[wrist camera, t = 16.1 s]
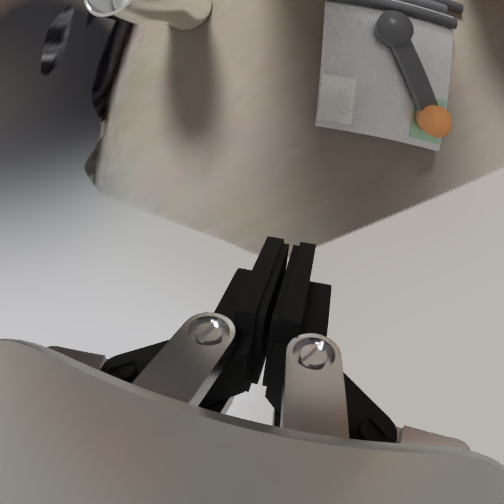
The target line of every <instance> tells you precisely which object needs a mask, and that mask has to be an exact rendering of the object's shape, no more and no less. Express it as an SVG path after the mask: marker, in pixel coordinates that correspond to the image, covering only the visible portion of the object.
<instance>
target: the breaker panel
mask: <svg viewBox="0 0 504 504" xmlns="http://www.w3.org/2000/svg"><path fill="white" fill-rule="evenodd" d="M392 1H396V2H400V3H404V4H408V5H412V6H416V7H419V8H423V9H426V10H430V11H433V12H436V13H439V14H442V15H445V16H448V17H451V18H454V17H452V16H449V15H446V14H443V13H440V12H437V11H434V10H431V9H427V8H424V7H421V6H417V5H413V4H410V3H406V2H402V1H398V0H392ZM386 11H389V10H387V9H382V8H377V7H372V6H367V5H361V4H355V3H349V2H341V1H334V0H325V11H324V28H323V43H322V56H321V69H320V81H319V92H318V102H317V113H316V122H315V126H318V127H325V128H331V129H337V130H343V131H349V132H355V133H360V134H365V135H370V136H375V137H380V138H385V139H389V140H394V141H398V142H403V143H407V144H411V145H415V146H419V147H423V148H427V149H431V150H434V151H438V152H439V149H440V144H441V139H442V138H436V137H433V136H431V135H429V134H428V133H426V132H424V131H422V130H421V129H420V128H419V126H418V125H417V122H416V112H417V107H416V105H415V102H414V100H413V97H412V95H411V92H410V90H409V87H408V85H407V82H406V80H405V78H404V75H403V73H402V71H401V69H400V66H399V64H398V62H397V60H396V58H395V56H394V53H393V51H392V49H391V47H390V46H388V45H386V44H384V43H383V42H382V41H380V39H379V38H378V37H377V35H376V33H375V23H376V21H377V20H378V18H379V16H380V15H381V14H382V13H384V12H386ZM403 14H404V13H403ZM405 15H406V16H407V17H408V18H409V19H410V20H411V22H412V24H413V27H414V34H413V36H412V38H411V41H412V43H413V45H414V47H415V50H416V52H417V54H418V56H419V58H420V61H421V63H422V65H423V67H424V70H425V72H426V75H427V77H428V80H429V82H430V85H431V87H432V90H433V92H434V95H435V98H436V100H437V103H438V106H441V107H443V108H445V109H446V108H447V101H448V93H449V85H450V75H451V65H452V51H453V31H454V28H451V27H448V26H445V25H442V24H439V23H436V22H433V21H429V20H426V19H422V18H419V17H415V16H412V15H408V14H405Z"/></svg>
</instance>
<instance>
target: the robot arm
mask: <svg viewBox="0 0 504 504" xmlns="http://www.w3.org/2000/svg"><path fill="white" fill-rule="evenodd" d="M315 247H316V245H315V244H309V243H303V242H300V246H297V245H293V249H292V252H291V255H290V259H289V262H288V266H287V269H286V265H287V257H288V249H289V244H285V243H284V239H281V238H275V237H269V236H268V237H267V239H266V241H265V244H264V246H263V248H262V250H261V252H260V254H259V256H258V259H257V261H256V263H255V265H254V267H253V269H252V270H246V269H241V268H239V269H238V270H237V271H236V273H235V275H234V277H233V278H232V280H231V282H230V284H229V286H228V288H227V290H226V291H225V293H224V295H223V297H222V299H221V301H220V303H219V304H218V306H217V308H216V310H215V312H214V313H208V312H205V313H200V314H197V315H195V316H192V317H191V318H189V319H188V320H187V321H186V322H185V323H184V324H183V325H182V327H181V328H180V329H179V330H178V331H177V332H176V333H175V334H174V335H173V337H172V338H171V339H170V340H167V341H164V342H161V343H157V344H154V345H150V346H147V347H144V348H140V349H137V350H133V351H130V352H127V353H123V354H120V355H117V356H114V357H112V358H110V359H106V358H105V355H99V354H93V353H88V352H83V351H78V350H73V349H68V348H63V347H58V346H50V347H44V346H41V345H38V344H35V343H31V342H27V341H23V340H15V339H0V504H504V466H503V465H502V464H501V463H499V462H498V461H496V460H494V459H492V458H490V457H487V456H485V455H482V454H479V453H477V452H473V451H471V450H470V448H469V447H468V446H467V444H465V442H463V441H461V440H458V439H455V438H451V437H446V436H442V435H438V434H434V433H431V432H426V431H423V430H419V429H416V428H412V427H409V426H404V427H403V428H399V427H396V426H395V425H394V423H393V422H392V420H391V419H390V418H389V417H388V416H387V415H386V414H385V413H384V412H383V411H382V410H381V409H380V408H379V407H378V406H377V405H376V404H375V403H374V402H373V401H372V400H371V399H370V398H369V397H368V396H367V395H366V394H365V393H363V392H362V390H361V389H360V388H359V387H358V386H357V385H355V383H354V382H353V381H351V380H350V378H349V377H348V376H347V375H346V374H344V372H343V366H342V358H341V353H340V350H339V348H338V346H337V345H336V344H335V342H333V341H332V340H330V339H329V338H327V328H328V318H329V307H330V297H331V285H327V284H322V283H316V282H310V275H311V270H312V264H313V259H314V253H315ZM265 359H266V363H265V370H264V377H263V386H267V389H266V395H265V397H266V398H267V399H268V401H269V402H270V403H271V404H272V406H273V407H274V412H273V422H272V426H271V425H266V424H262V423H257V422H253V421H249V420H245V419H241V418H237V417H233V416H229V415H225V414H226V412H227V410H228V409H229V407H230V405H231V404H232V401H233V399H234V396H235V395H238V394H240V393H242V392H244V391H247V392H248V391H249V389H250V386H251V383H254V384H257V383H258V381H259V378H260V374H261V371H262V368H263V365H264V362H265Z"/></svg>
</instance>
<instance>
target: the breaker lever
mask: <svg viewBox="0 0 504 504" xmlns="http://www.w3.org/2000/svg"><path fill="white" fill-rule="evenodd" d="M375 33H376V35H377V37H378V38H379V39H380V41H382V42H383V43H384V44H386V45H388V46H390V47H391V49H392V51H393V53H394V56H395V58H396V60H397V62H398V64H399V66H400V69H401V71H402V73H403V75H404V78H405V80H406V82H407V85H408V87H409V90H410V92H411V95H412V97H413V100H414V102H415V105H416V107H417V112H416V122H417V125H418V126H419V128H420V129H421V130H422V131H424V132H426V133H428V134H429V135H431V136H433V137H436V138H442V137H445V136H446V135H448V134H449V132H450V131H451V128H452V118H451V116H450V114H449V112H448V111H447V110H446V109H445V108H443V107H441V106H438V103H437V100H436V98H435V95H434V92H433V90H432V87H431V85H430V82H429V80H428V77H427V75H426V72H425V70H424V67H423V65H422V63H421V61H420V58H419V56H418V54H417V52H416V50H415V47H414V45H413V43H412V41H411V38H412V36H413V34H414V27H413V24H412V22H411V20H410V19H409V18H408V17H407V16H406V15H405V14H403V13H401V12H399V11H395V10H389V11H386V12H384V13H382V14H381V15H380V16H379V18H378V20H377V21H376V23H375Z"/></svg>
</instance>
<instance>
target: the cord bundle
mask: <svg viewBox="0 0 504 504" xmlns="http://www.w3.org/2000/svg"><path fill="white" fill-rule="evenodd" d="M334 1H341V2H349V3H355V4H361V5H367V6H372V7H377V8H382V9H387V10H395V11H399V12H401V13H404V14H408V15H412V16H415V17H419V18H422V19H426V20H429V21H433V22H436V23H439V24H442V25H445V26H448V27H451V28H454V29H456V27H457V20H456V19H454V18H451V17H448V16H445V15H442V14H439V13H436V12H433V11H430V10H426V9H423V8H419V7H416V6H412V5H408V4H404V3H400V2H396V1H392V0H334ZM401 1H405V2H409V3H412V4H416V5H420V6H423V7H427V8H430V9H433V10H436V11H439V12H442V13H445V14H446V13H447V9H451V10H454V11H456V12H459V13H462V12H463V5H462V4H460V3H457V2H454V1H451V0H401Z"/></svg>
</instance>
